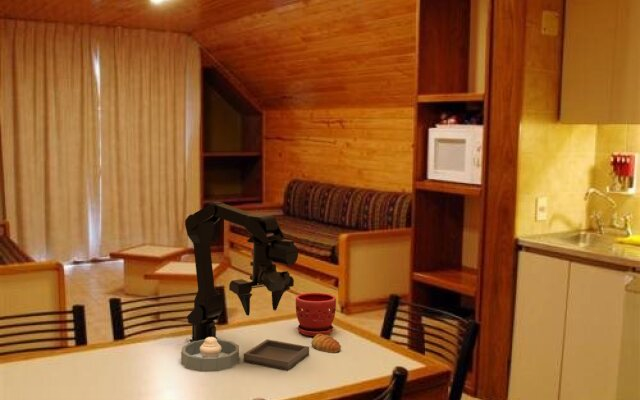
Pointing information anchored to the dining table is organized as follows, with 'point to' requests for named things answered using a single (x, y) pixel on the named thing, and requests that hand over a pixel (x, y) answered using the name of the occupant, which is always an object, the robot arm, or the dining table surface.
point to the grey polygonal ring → (210, 362)
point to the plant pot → (315, 313)
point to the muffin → (210, 348)
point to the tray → (276, 354)
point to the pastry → (325, 343)
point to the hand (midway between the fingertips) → (261, 312)
